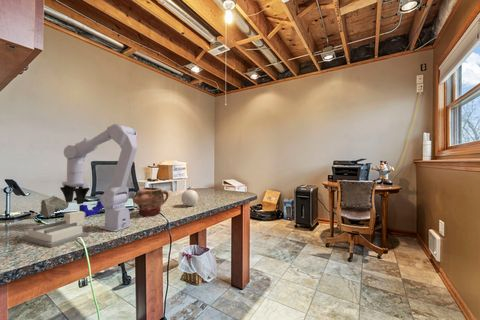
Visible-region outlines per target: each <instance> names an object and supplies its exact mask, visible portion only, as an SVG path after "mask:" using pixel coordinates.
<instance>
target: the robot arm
mask: <svg viewBox="0 0 480 320" xmlns="http://www.w3.org/2000/svg"><path fill="white" fill-rule="evenodd" d="M138 135H139V134H138V133H137V131H136V130H135V129H134V128H133V127H131V126H127V125H122V124H121V125H120V124H118V123H113V124H111V125H110V126H108V127H107V128H106V129H105V130H104V131H102V132H101V133H99V134H98V135H96V136H95V137H93V138H91V137H85V138H83V140H82V141H80V142H76V143H75V144H74V145H71V144H70V145H66V147H64V149H63V155H64V157H65V159H67V160H66V180H65V181H62V182H61V186H62V187H59V188H60V189H59V190H60V191H61V192H62V193H63V197H64V201H65V202H66V203H73V200H74V194H75V197H76V198H75V199H76V204H77V205H84V202H85V198H86V196H87V194H88V192H89V191H90V187H89V183H87V182H86V181H84V162H85V161H86V160H85V158H86V157H87V156H88V154H90V153H92V152H95V151H96V150H97V149H98V148H99V146H100V145H101V144H103V143H106V142H108V141H110V140H113V141H114V142H115V143H116V144H117V145H118V146H119V147H120V149H121V151H120V153H119V157H118V160H117V165H116V167H115V170H114V174H113V177H112V181H111V184H110V185H108V186H107V187H106V188H105V190H104V193H103V194H102V195H100V196H101V197H100V201H101V204H102V205H103V206H104V225H102V226H100V227H99V229H102V230H107V231H111V232H118V231H120V230H124V229H126V228H129V227H132V225H131V224H130V223H131V221H130V220H131V212H130V210H129V208H127V207H125V206H126V203H127V202H128V200H129V190H130V189H129V188H128V186H127V184H128V183H127V182H128V180H129V176H130V173H131V170H132V165H133V164H134V160H135V157H136V153H137V149H138V142H137V139H138Z"/></svg>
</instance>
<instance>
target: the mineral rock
mask: <svg viewBox="0 0 480 320" xmlns="http://www.w3.org/2000/svg"><path fill="white" fill-rule="evenodd" d="M69 203H70V202H68V203H66V200H65V199H63V198H59V197H57V196H56V195H52V196H51V197H49V198H44V199H42V200H41V202H40V208H41V209H40V211H39V215H40V214H41V215H44V218H43V219H47V217H48V218H51V217H50V216H51V214H52V213H54V212H57V211H60V210H64V209H66V208H67V209H68V207H69ZM67 209H66V210H67Z"/></svg>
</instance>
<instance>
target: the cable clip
mask: <svg viewBox="0 0 480 320" xmlns="http://www.w3.org/2000/svg"><path fill="white" fill-rule="evenodd" d="M78 205H79V208H78V211H82V212H84V213H86V216H85V217H84V218H87V217H90V216H92V215H93V216H94V215H96V214H99V213H98V211H99V210H100V209H102V208H104V206H103V205H102V204H101V200H97V202H96V205H94V206H93V207H92V208H91V209H93V210H94V211H89V210H90V209H89V208H88V205H87V204H78ZM104 209H105V208H104Z"/></svg>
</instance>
